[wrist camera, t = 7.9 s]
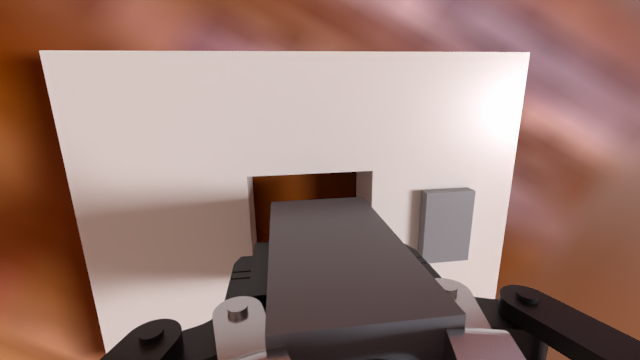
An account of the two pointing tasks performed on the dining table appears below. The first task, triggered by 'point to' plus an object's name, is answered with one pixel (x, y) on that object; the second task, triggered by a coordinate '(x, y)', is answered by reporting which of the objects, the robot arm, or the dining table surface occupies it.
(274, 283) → the gray knobbed square peg
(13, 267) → the dining table surface
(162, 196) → the socket plate
